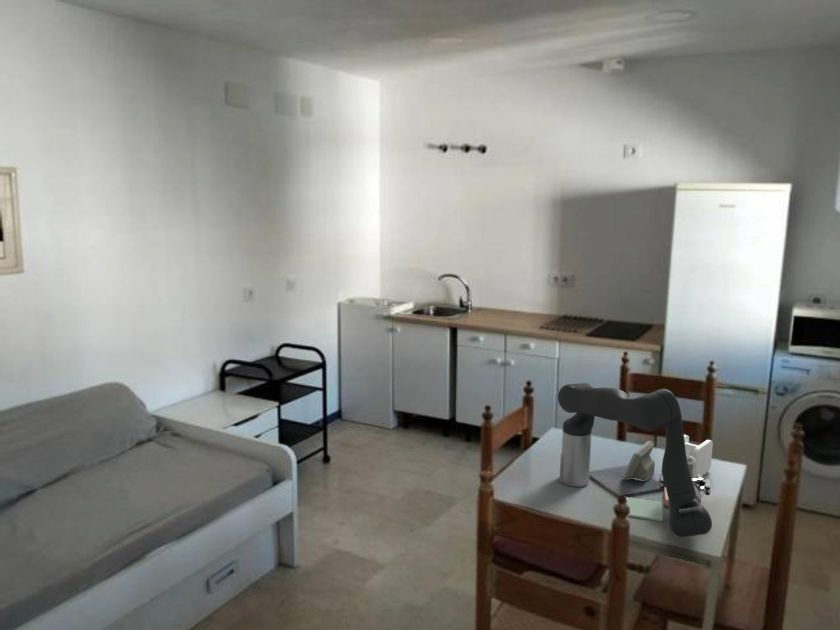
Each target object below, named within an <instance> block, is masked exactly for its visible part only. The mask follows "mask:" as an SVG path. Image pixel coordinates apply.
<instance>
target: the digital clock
mask: <svg viewBox="0 0 840 630" xmlns="http://www.w3.org/2000/svg"><path fill="white" fill-rule="evenodd" d="M654 447H655V443H654V442H653V441H652V440H648V441H646V442H645V443H643V445H642V446H640V447H639V448H638V449H637V450H636V451H635V452H634V453H633V454H632V456H631V458H630V460H629V463H628V465H627V467H626V469H625V471H624V472H623V475H622V479H623V480H624V481H625V480H629V481H631V480H632V479H631V478H637V479H641V480H645V481H646V480H647V479H648V478H649V479H650V478H651V477H653V476H654V474H655V461H654V460H653V458H652V457H651V453H652V452H653V449H654ZM630 479H631V480H630ZM649 479H648V480H649ZM648 480H647V481H648ZM647 481H646V482H647Z"/></svg>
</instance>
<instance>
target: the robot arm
mask: <svg viewBox="0 0 840 630" xmlns="http://www.w3.org/2000/svg"><path fill="white" fill-rule="evenodd" d="M557 401H558V405H559V406H560V408H561V409H562V410H563V411H564V412H567V413H569V414H571V413H572V414H573V413H575V414H574V415H572V416H571V417H569V418H567V419H566V420H565V421H563V424H562V434H561V435H562V437H561V439H562V440H561V453H560V461H559V463H560V464H559V466H560V467H559V479H558V480H559V481H558V483H561V484H564V485H567V486H570V487H577V488H579V487H580V488H581V487H585V486H587V485H589V482H590V469H591V468H590V466H591V452H592V451H591V450H592V436H593V435H592V432H593V427H594V424H595V417H597V418H601V419H604V420H607V421H615V422H619V423H624V424H628V425H630V426H632V427H635V428H638V429H640V430H642V431H646V432H647V431H648V432H651V431H656V430H659V429H661V428H663V427H664V429H665V436H666V437H665V448H664V451H663V452H664V453H663V457H662V461H661V462H662V463H661V473H659V481H658V482H659V487H660V489H662V490H664V489H665V487H666V491H667V494H668V499H669V506H668V507H669V512H668V513H669V514H668V525H669V530H670V531H671V533H672V534H673V535H674V536H676V537H678V538H688V537H693V536H694V537H695V536H699V535H700V536H701V535H706V534H708V533H709V532H710V531H711V529H712V528H713V521H712V518H711V514H709V511H708V510H707V509H706V507H704V506H703V504H702V496H701V492H703V493H704V495H706V496H710V494H711V481H710V479H704V478H703V476H701V475H700V474H697V478H694V479H692V478H691V474H690V471H689V467H688V463H687V457H686V450H685V441H684V435H685V433H684V427H683V419H682V418H683V417H682V409H681V407H680V404H679V401H678V399H677V397H676V396H675V394H674V393H673V392H672V391H671V390H669V389H666V388H661V389H660V388H659V389H657V390H655V391H652V392H649V393H647V394H645V395H642V396H639V397H636V398H630V396H629V395H628V394H627V393H626V392H625V391H623V390H622V389H618V388H613V387H594V386H593V385H592V383H589V382H583V383H582V382H581V383H579V382H578V383H568V384H565V385H562V386H561V387H560V389H559V390H558V393H557Z"/></svg>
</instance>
